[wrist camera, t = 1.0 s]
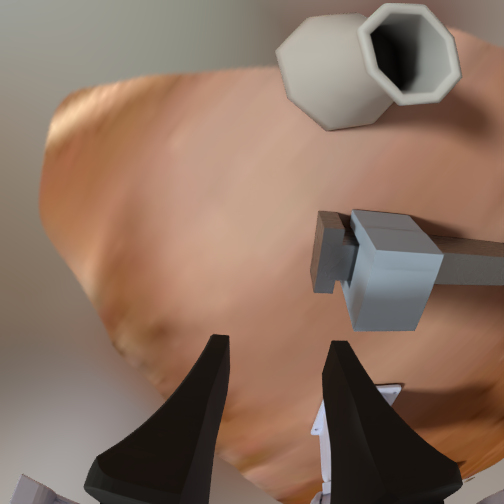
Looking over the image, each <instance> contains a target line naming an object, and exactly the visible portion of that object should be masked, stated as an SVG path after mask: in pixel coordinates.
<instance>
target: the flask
mask: <svg viewBox="0 0 504 504" xmlns="http://www.w3.org/2000/svg"><path fill="white" fill-rule="evenodd" d="M275 53H276V57H277V60H278V64H279V68H280V71H281V75H282V79H283V83H284V87H285V90H286V94H287V98H288V99H289V100H290V101H291V102H293V103H294V104H295V105H296V106H297V107H299V108H300V109H301V110H302V111H303V112H305V113H306V114H307V115H308V116H309V117H310V118H312V119H313V120H314V121H315V122H316V123H317V124H318V125H320V126H321V127H322V128H323V129H324V130H325V131H330V130H336V129H342V128H349V127H355V126H362V125H369V124H373V123H374V122H375V121H376V120H377V119H378V118H379V117H380V116H381V115H382V114H383V113H384V112H385V111H386V110H387V108H388V107H389V106H390V105H391V104H392V103H393V102H395V103H396V104H397V105H398V106H404V105H415V104H430V103H440V102H441V100H442V99H443V98H444V97H445V96H446V95H447V94H448V93H449V92H450V91H451V89H452V88H453V87H454V86H455V85H456V84H457V83H458V82H459V81H460V79H461V78H462V73H461V67H460V62H459V57H458V52H457V48H456V43H455V39H454V37H453V35H452V34H451V33H450V32H449V31H448V29H447V28H446V27H445V26H444V25H443V24H442V23H441V22H440V20H439V19H438V18H437V17H436V16H435V15H434V14H433V13H432V12H431V11H430V10H429V9H428V8H427V7H426V6H425V5H424V4H402V3H385V4H383V5H382V6H381V7H380V8H379V9H378V10H376V11H375V12H374V13H373V14H372V15H371V16H370V17H369V18H367V17H365V16H363V15H361V14H359V13H345V14H344V13H343V14H332V15H323V16H315V17H308V18H307V19H306V20H305V21H304V22H303V23H302V24H301V25H300V26H299V27H298V28H297V29H296V30H295V31H294V32H293V33H292V34H291V35H290V36H289V37H288V38H287V39H286V40H285V41H284V42H283V43H282V44H281V45H280V46H279V48H278V49H277V50H276V51H275Z"/></svg>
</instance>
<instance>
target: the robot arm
mask: <svg viewBox="0 0 504 504" xmlns="http://www.w3.org/2000/svg"><path fill="white" fill-rule="evenodd" d="M229 374H230V347H229V336H228V335H217V334H213V335H212V336H210V339H209V341H208V343H207V345H206V346H205V348H204V350H203V352H202V353H201V355H200V357H199V358H198V360H197V362H196V363H195V365H194V366H193V367H192V369H191V370H190V372H189V373H188V375H187V376H186V378H185V379H184V380H183V381H182V383H181V384H180V385H179V387H178V388H177V389H176V390H175V392H174V393H173V394H172V395H171V396H170V397H169V399H168V400H167V401H166V402H165V403H164V404H163V405H162V406H161V407H160V408H159V409H158V410H157V411H156V412H155V413H154V414H153V415H152V416H151V417H150V418H149V419H148V420H147V421H146V422H144V423H143V424H142V425H141V426H140V427H139V428H137V429H136V430H135V431H134V432H132V433H131V434H130V435H128V436H127V437H126V438H124V440H122V441H120V442H119V443H118V444H116V445H114V446H113V447H111V448H110V449H108V450H107V451H105V452H103V453H102V454H100V455H98V456H97V457H96V459H95V460H94V462H93V464H92V466H91V468H90V470H89V473H88V476H87V478H86V481H85V484H84V489H85V491H86V492H87V493H88V494H89V495H91V496H92V497H94V498H95V499H96V500H98V501H99V502H100V504H209V494H210V483H211V474H212V466H213V458H214V450H215V444H216V439H217V435H218V430H219V426H220V422H221V418H222V413H223V409H224V405H225V400H226V396H227V391H228V383H229ZM322 387H323V401H322V403H321V406H320V409H319V412H318V414H317V417H316V419H315V422H314V425H313V427H312V430H311V434H312V435H319V437H320V451H321V468H322V477H323V480H324V482H325V483H323V492H318V493H317V494H316V495H315V497H314V498H313V500H312V501H311V504H444V499H445V498H447V497H448V496H450V495H451V494H453V493H455V492H456V491H457V490H459V489H460V488H461V486H462V485H463V482H462V478H461V474H460V470H459V467H458V465H457V463H456V462H454V461H452V460H451V459H449V458H448V457H446V456H445V455H443V454H442V453H440V452H439V451H437V450H436V449H435V448H433V447H432V446H431V445H430V444H428V443H427V442H426V441H425V440H424V439H422V438H421V437H420V436H419V435H418V434H417V433H416V432H415V431H414V430H413V429H411V428H410V427H409V426H408V425H407V424H406V423H405V421H404V420H403V419H402V418H401V417H400V416H399V415H398V414H397V413H396V412H395V411H394V409H393V408H392V407H391V405H392V404H393V402H394V400H395V399H396V397H397V396H398V394H399V392H400V391H401V385H398V384H397V385H383V386H375V384H374V383H373V381H372V380H371V378H370V377H369V375H368V374H367V372H366V371H365V369H364V368H363V366H362V365H361V363H360V361H359V360H358V358H357V356H356V355H355V353H354V351H353V349H352V348H351V346H350V344H349V343H348V341H331V345H330V349H329V352H328V356H327V359H326V362H325V366H324V369H323V372H322ZM9 504H79V503H77V502H74V501H72V500H69V499H67V498H65V497H63V496H60V495H58V494H56V493H55V492H54V491H53V490H52V489H50V488H48V487H47V486H45V485H43V484H41V483H39V482H37V481H35V480H33V479H31V478H30V477H28V476H26V475H24V474H21V475H20V477H19V480H18V483H17V485H16V487H15V490H14V492H13V495H12V498H11V500H10V503H9ZM477 504H504V490H501V491H499V492H497V493H495V494H493V495H491V496H488V497H487V498H485V499H483V500H481V501H480V502H478V503H477Z"/></svg>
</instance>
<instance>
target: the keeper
mask: <svg viewBox="0 0 504 504" xmlns="http://www.w3.org/2000/svg"><path fill="white" fill-rule="evenodd" d="M350 226H351V228H352V230H353V232H354V234H355V236H356V238H357V240H358V242H359V244H360V245H359V250H358V255H357V259H356V264H355V268H354V272H353V277H352V281H340V283H341V286H342V289H343V293H344V296H345V300H346V305H347V308H348V312H349V315H350V319H351V323H352V327H353V330H354V331H415V329H416V327H417V325H418V322H419V320H420V318H421V315H422V313H423V310H424V308H425V305H426V303H427V301H428V298H429V295H430V293H431V290H432V288H433V285H434V282H435V279H436V277H437V274H438V271H439V268H440V265H441V262H442V259H443V256H444V254H443V253H442V252H441V251H440V249H439V248H438V247H437V246H436V245H435V244H434V242H433V241H432V240H431V239H430V238H429V237H428V235H427V234H426V233H424V232H423V231H422V230H421V229H420V227H419V226H418V225H417V224H416V223H415V222H414V221H413V220H412V219H411V217H410V216H409V215H401V214H392V213H382V212H372V211H362V210H352V214H351V220H350Z"/></svg>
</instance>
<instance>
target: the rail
mask: <svg viewBox="0 0 504 504" xmlns="http://www.w3.org/2000/svg"><path fill="white" fill-rule="evenodd" d="M428 237H429V238H430V239H431V240H432V241H433V242H434V244H435V245H436V246H437V247H438V248H439V249H440V251H441V252H442V253H443V254H444V256H443V259H442V262H441V265H440V268H439V271H438V274H437V277H436V279H435V282H434V284H452V285H504V243H497V242H489V241H480V240H471V239H462V238H453V237H443V236H433V235H428ZM359 245H360V244H359V242H358V240H357V238H356V236H355V234H354V232H353V230H352V228H344V226H343V224H342V222H341V220H340V218H339V215H338V213H337V212H326V211H318V218H317V226H316V233H315V241H314V248H313V255H312V262H311V268H310V273H311V279H312V285H313V291H314V293H332V294H333V289H334V284H335V280H340V281H352V277H353V272H354V268H355V264H356V259H357V255H358V250H359Z"/></svg>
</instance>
